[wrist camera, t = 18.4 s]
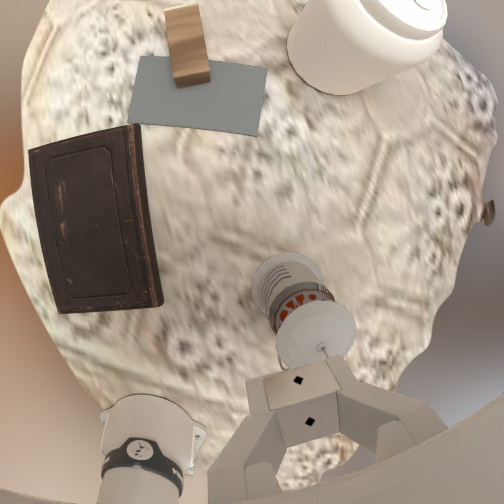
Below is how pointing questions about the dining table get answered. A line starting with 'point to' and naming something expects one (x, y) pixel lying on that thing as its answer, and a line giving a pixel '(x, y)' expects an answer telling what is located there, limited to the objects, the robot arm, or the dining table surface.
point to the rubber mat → (199, 97)
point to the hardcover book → (96, 221)
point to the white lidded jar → (363, 41)
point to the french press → (301, 311)
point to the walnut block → (187, 45)
